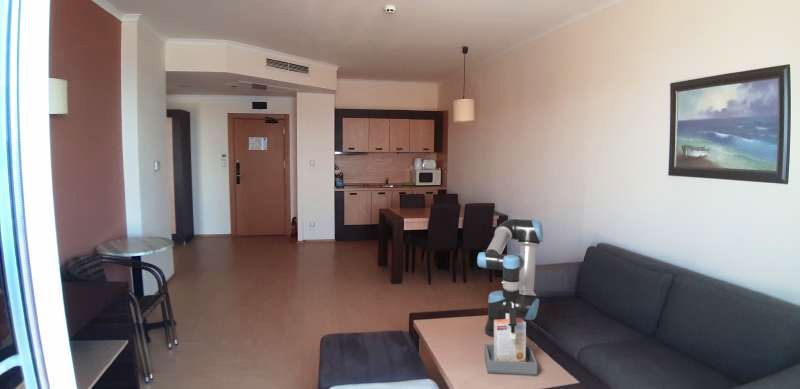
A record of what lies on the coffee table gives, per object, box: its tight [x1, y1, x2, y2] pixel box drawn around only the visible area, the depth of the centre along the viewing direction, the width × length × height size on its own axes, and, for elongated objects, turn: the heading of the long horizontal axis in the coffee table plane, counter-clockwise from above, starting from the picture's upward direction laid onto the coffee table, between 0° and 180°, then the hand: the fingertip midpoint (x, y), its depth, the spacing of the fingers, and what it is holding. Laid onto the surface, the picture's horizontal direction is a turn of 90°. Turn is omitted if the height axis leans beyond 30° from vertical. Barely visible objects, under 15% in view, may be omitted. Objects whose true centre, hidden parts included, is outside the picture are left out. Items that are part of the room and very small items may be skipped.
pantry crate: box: [484, 343, 538, 377], centre depth 210 cm, size 18×22×6 cm
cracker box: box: [493, 318, 527, 362], centre depth 209 cm, size 14×6×21 cm, turn 96°
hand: (510, 332), depth 209 cm, fingers open, 13 cm apart
